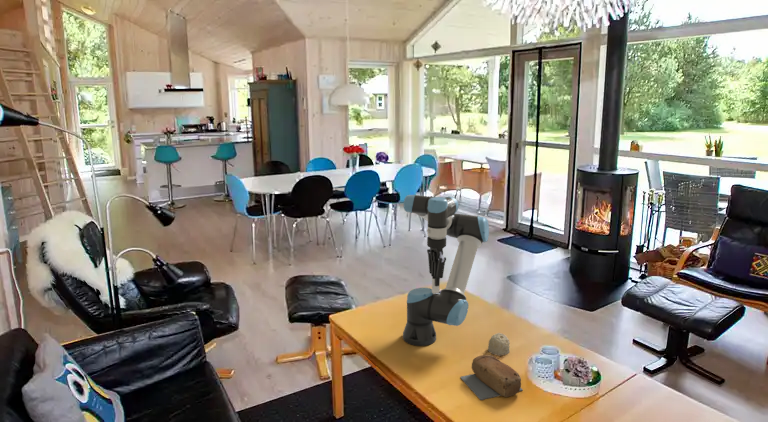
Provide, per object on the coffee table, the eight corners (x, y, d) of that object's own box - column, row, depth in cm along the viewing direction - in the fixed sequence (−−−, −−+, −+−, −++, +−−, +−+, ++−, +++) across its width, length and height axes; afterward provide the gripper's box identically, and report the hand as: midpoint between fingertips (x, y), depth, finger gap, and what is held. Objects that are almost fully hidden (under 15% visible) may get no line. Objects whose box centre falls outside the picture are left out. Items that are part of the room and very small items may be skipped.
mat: (460, 377, 209) (460, 376, 209) (500, 369, 215) (500, 368, 215) (480, 400, 194) (480, 398, 194) (522, 390, 200) (522, 389, 200)
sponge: (509, 359, 231) (512, 336, 234) (508, 356, 222) (510, 332, 226) (488, 355, 234) (491, 332, 237) (485, 352, 225) (489, 329, 229)
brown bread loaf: (469, 373, 210) (503, 400, 194) (470, 356, 209) (505, 382, 192) (490, 367, 216) (525, 392, 199) (491, 350, 214) (527, 375, 197)
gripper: (421, 233, 214) (420, 287, 220) (435, 242, 202) (433, 299, 208) (438, 231, 217) (437, 285, 222) (452, 240, 205) (451, 297, 210)
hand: (435, 292), depth 215 cm, fingers closed
